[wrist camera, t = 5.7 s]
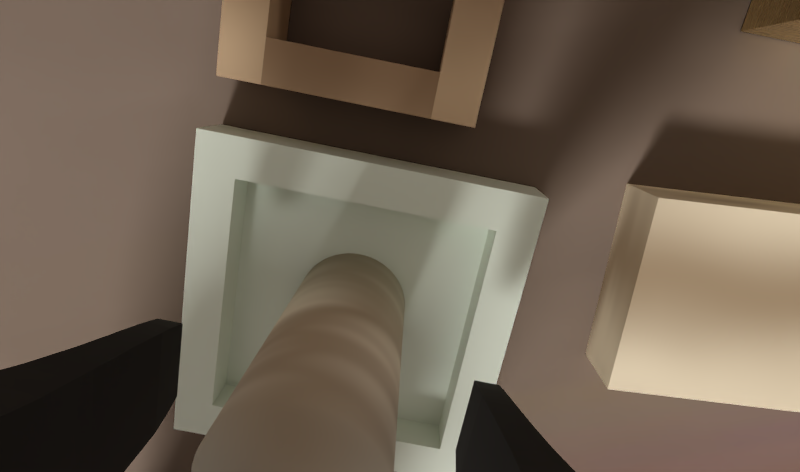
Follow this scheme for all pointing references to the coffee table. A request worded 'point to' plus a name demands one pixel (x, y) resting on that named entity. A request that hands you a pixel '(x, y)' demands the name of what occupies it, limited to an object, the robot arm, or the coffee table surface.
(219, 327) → the tray
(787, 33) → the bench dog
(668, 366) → the beige rectangular box
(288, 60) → the socket block
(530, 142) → the coffee table surface
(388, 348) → the dowel
